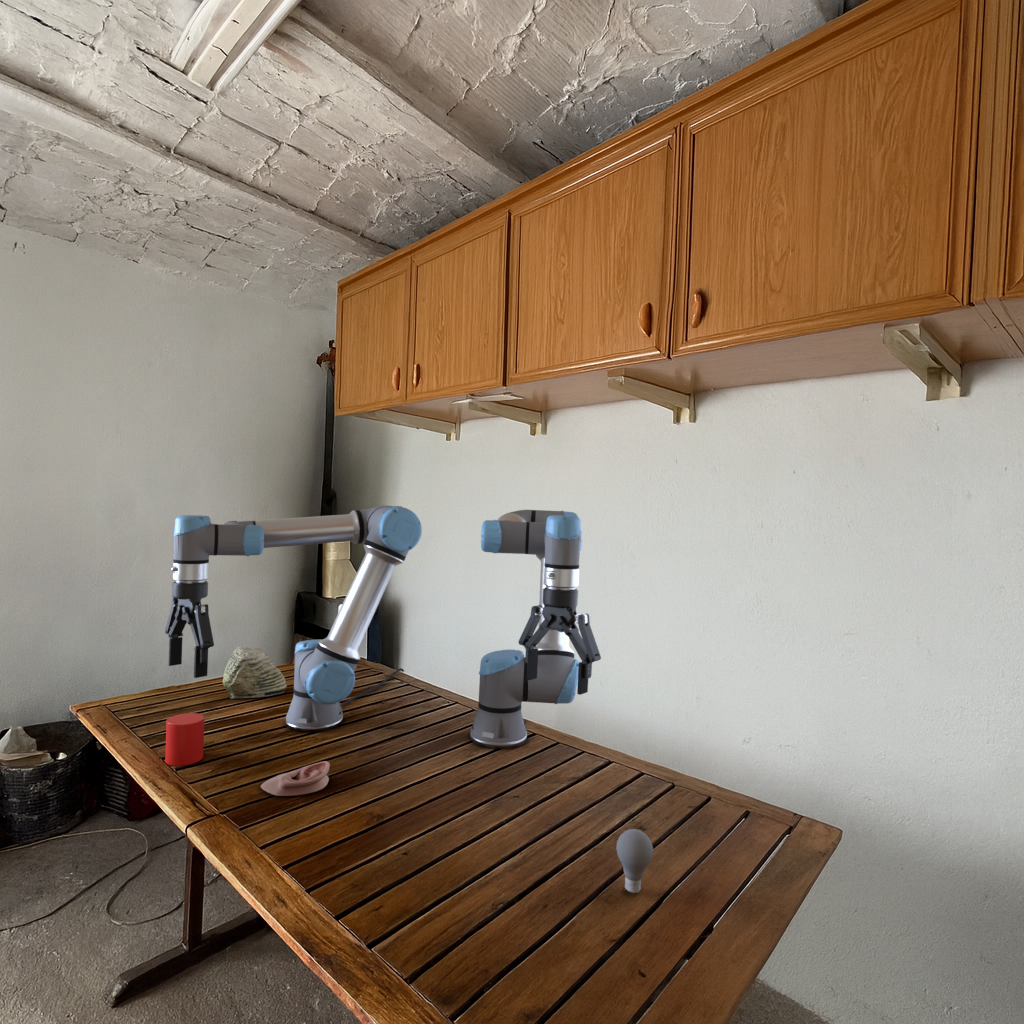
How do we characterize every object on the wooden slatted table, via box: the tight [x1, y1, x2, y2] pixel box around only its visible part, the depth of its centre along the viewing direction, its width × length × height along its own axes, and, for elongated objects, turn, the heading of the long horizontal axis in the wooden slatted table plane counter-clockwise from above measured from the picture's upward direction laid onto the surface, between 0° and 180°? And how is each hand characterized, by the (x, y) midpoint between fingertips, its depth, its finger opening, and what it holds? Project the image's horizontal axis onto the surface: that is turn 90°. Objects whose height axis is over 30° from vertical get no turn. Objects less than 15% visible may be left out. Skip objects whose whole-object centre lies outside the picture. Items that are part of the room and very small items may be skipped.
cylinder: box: [164, 712, 206, 767], centre depth 149 cm, size 8×8×10 cm
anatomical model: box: [260, 760, 331, 797], centre depth 138 cm, size 13×4×12 cm
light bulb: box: [615, 828, 654, 894], centre depth 106 cm, size 6×6×10 cm
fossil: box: [222, 646, 288, 699], centre depth 198 cm, size 9×18×15 cm, turn 132°
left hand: (187, 670), depth 149 cm, fingers open, 13 cm apart
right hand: (556, 685), depth 136 cm, fingers open, 13 cm apart
